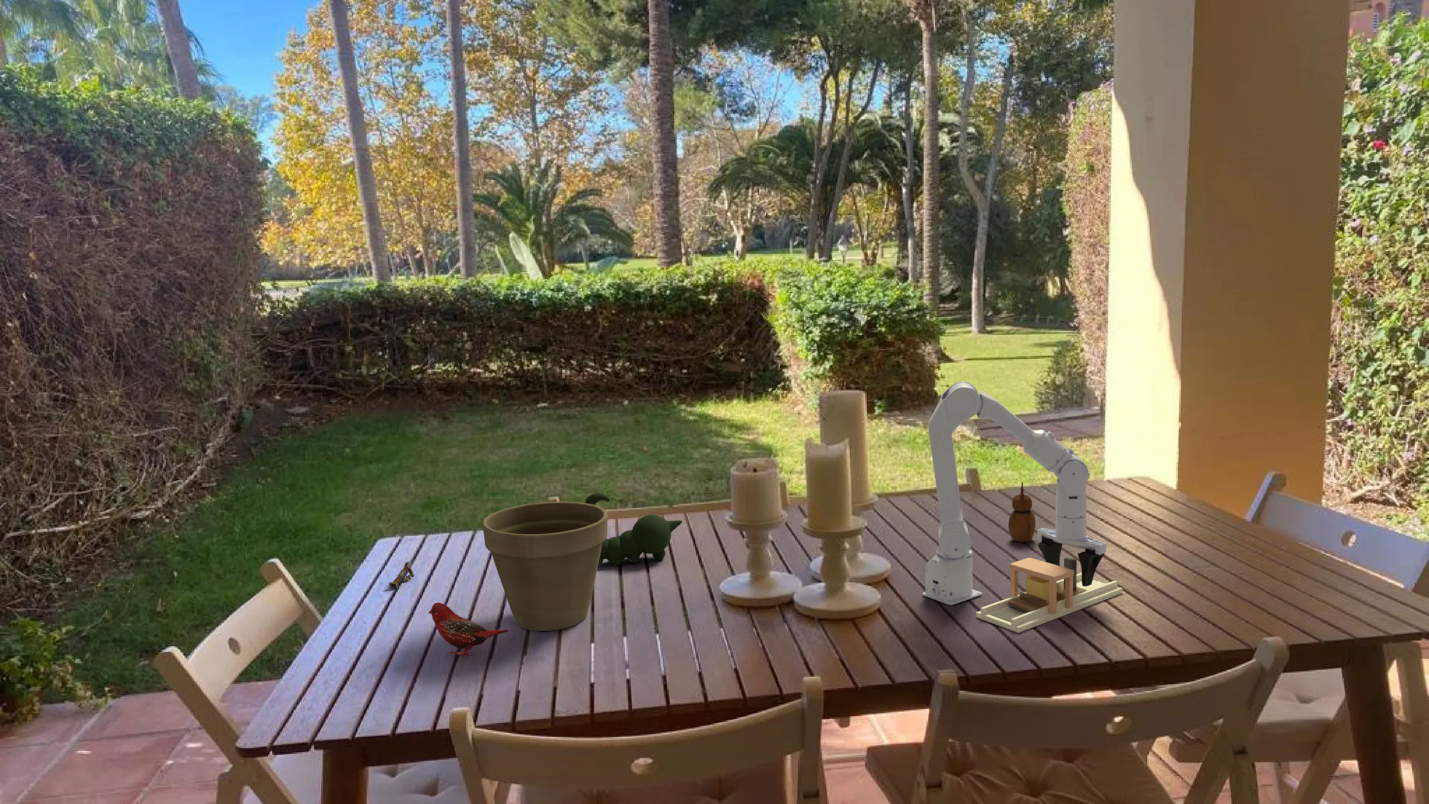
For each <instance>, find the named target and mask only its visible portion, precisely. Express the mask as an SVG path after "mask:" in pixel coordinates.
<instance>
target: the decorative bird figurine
mask: <svg viewBox="0 0 1429 804" xmlns="http://www.w3.org/2000/svg"><path fill="white" fill-rule="evenodd" d="M428 614H430V615H431V617H432V621H433V622H434V625H435V627H436V630H437V632H438V634H439V636H441V638H442V639H443V640H444V641H445V642H446V643H448V644H449V645H451V646H453V647H455V648H456V649H457V648H458V649H461V650H462V649H463V650H462V651H449V653H451V654H455V655H456V656H458V655H461V656H466V657H470V656H471V657H473V654H472V653H470V652H469V651H470V650H471V649H472V648H474V647H478V646H481V645H483V644H484V643H485V642H486V641H487V640H488V639H490V638H491V637H494V636H497V635H501V634H505V633H507V632H509V629H491V630H489V629H488V630H487V629H486V628H485V627H483V626H481V625H480V624H479V623H477V622H474V621H472V620H470V619H467V618H466V617H463V616H461V615H458V614H456V613H455V612H454V611H453V610H452V609H451V608H450V607H449V606H447V605H446V604H444V603H442V602H439V601H438V602H435V603H433V605H432V606H431V608H430V610H429V611H428Z"/></svg>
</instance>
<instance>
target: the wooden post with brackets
mask: <svg viewBox="0 0 1429 804" xmlns="http://www.w3.org/2000/svg"><path fill="white" fill-rule="evenodd" d="M411 566H412V561H411V560H409V561H406V562H404V566H403V568H402V569H400V571H399V573H398V574H397V577H396V578H395V579H394V580H393V581H389V582H388V584H389V587H390V589H399V583H401V580H402V579H403V578H404V579H403V583H408V582H409V581H410V580H412V578H414V577H415V574H414V571H413V569H412V567H411ZM407 572H408V574H407ZM406 574H407V575H406Z"/></svg>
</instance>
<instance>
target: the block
mask: <svg viewBox="0 0 1429 804" xmlns="http://www.w3.org/2000/svg"><path fill="white" fill-rule="evenodd" d="M1025 586H1026V587H1025V592H1026V594H1029V595H1032V596H1035V597H1038V598H1041V599H1044V600H1046V602H1049V580H1045V579H1042V578H1039V577H1035V576H1032V577H1029V578H1027V577H1026V578H1025Z"/></svg>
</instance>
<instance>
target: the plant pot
mask: <svg viewBox="0 0 1429 804" xmlns="http://www.w3.org/2000/svg"><path fill="white" fill-rule="evenodd" d="M608 517H609V514H608V512H607V510H606V509H604V508H602V507H601V506H598V505H596V504H595V505H592V504H586V503H585V502H575V501H545V502H535V503H533V502H532V503H527V504H520V505H516V506H511V507H510V506H509V507H507V508H504V509H501V510H498V511H495V512H494V513H491V514H490V515H488V516H486V517H485V518H484V519H483V521H482V531H483V538H484V546H485V548H486V549H487V550H488V551H489V552H490V553H491V556H492V560H493V562H494V566H495V568H496V569H495V570H496V571H497V575H498V577H499V580H500V583H501V586H502V588H503V591H504V593H505V597H506V600H507V603H508V605H509V608H510V612H511V615H512V616H513V619H514V622H515V623H516V624H517V626H519V627H520V628H522V629H524V630H528V631H532V632H533V631H534V632H550V631H551V632H552V631H559V630H563V629H568V628H571V627H573V626H576V625H578V624H580V623H581V622H582V621H584V620H585V619H586V617H587V615H588V612H589V609H590V605H591V600H592V595H593V592H594V586H595V581H596V577H597V572H598V567H599V564H598V563H599V558H600V553H601V548H602V542H604V541H605V539H606V538H607V537H608V520H609V519H608ZM607 539H608V538H607Z"/></svg>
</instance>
